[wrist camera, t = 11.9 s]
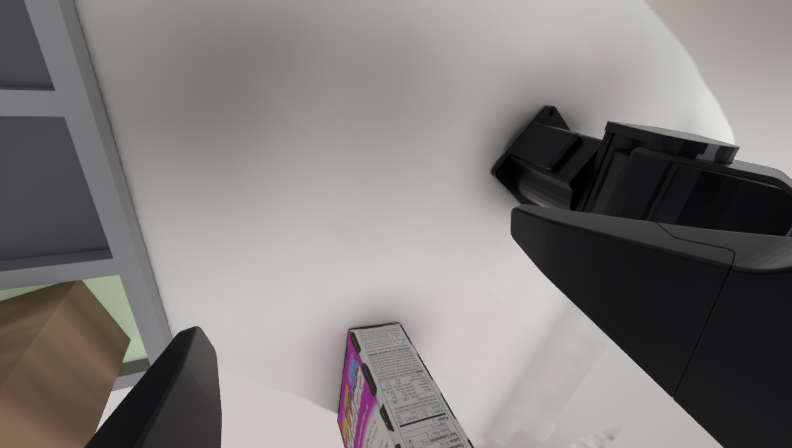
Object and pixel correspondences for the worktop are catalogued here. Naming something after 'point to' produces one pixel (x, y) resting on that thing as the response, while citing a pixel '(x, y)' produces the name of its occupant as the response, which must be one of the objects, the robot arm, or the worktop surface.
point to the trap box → (68, 181)
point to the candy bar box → (392, 395)
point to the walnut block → (56, 366)
